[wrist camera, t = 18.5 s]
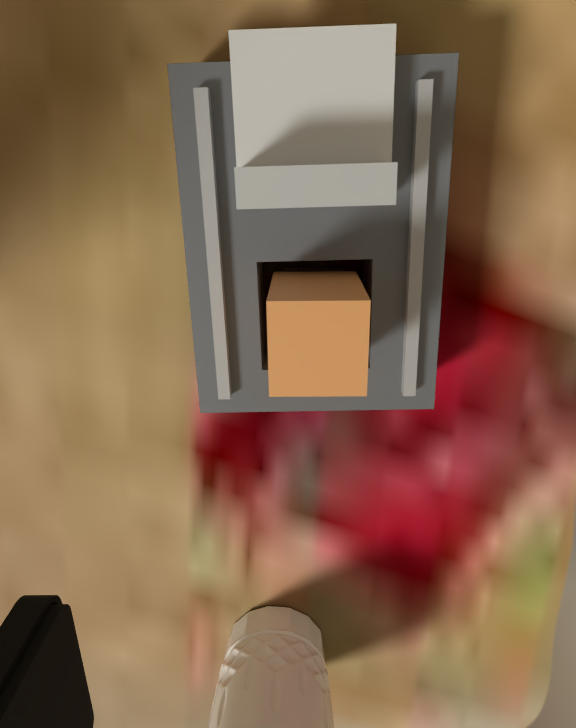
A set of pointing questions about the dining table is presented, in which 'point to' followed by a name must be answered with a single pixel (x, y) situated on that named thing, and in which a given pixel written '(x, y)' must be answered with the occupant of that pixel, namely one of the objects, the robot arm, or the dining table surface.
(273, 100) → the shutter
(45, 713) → the robot arm
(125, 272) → the dining table surface
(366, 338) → the tan rectangular block
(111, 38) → the dining table surface
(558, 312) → the dining table surface
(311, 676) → the white cup
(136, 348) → the dining table surface
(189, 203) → the grey sliding cover box
